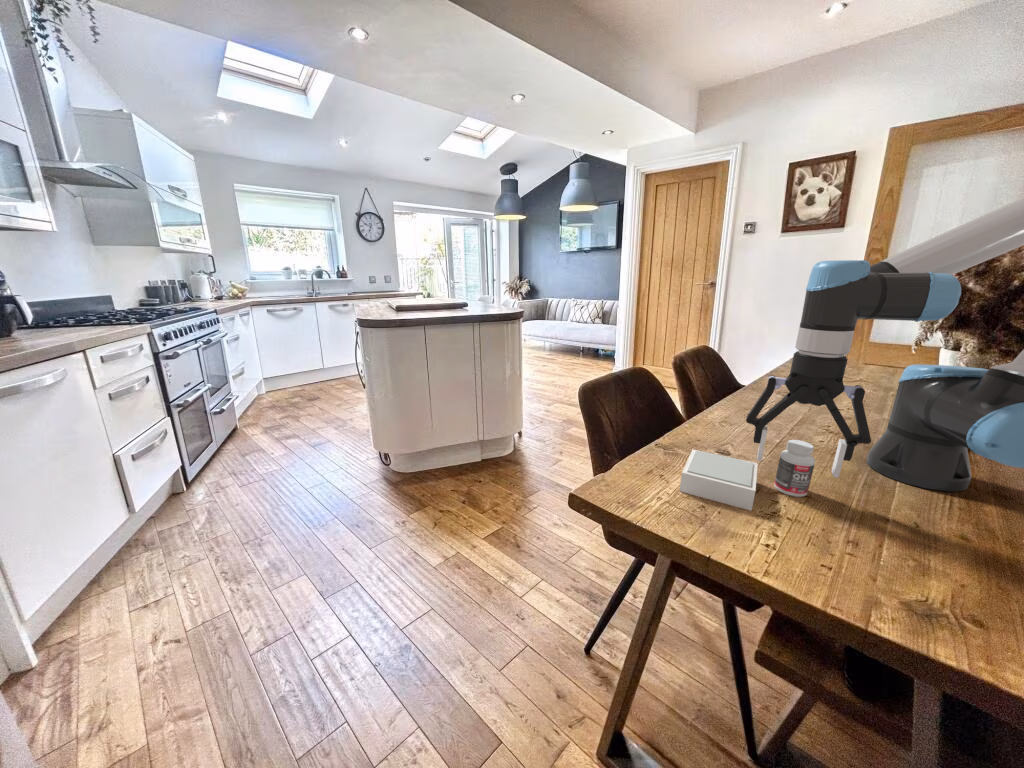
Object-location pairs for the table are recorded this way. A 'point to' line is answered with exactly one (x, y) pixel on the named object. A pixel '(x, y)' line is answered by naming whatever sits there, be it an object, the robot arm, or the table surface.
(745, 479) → the plinth
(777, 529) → the table surface
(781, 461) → the pill bottle
